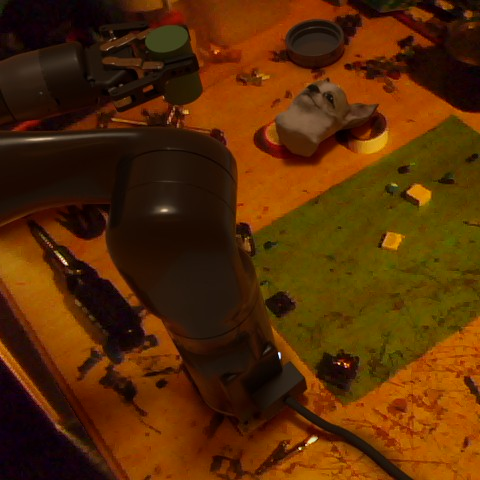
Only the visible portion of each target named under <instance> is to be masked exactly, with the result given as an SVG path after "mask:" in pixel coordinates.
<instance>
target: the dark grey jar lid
mask: <svg viewBox="0 0 480 480" xmlns="http://www.w3.org/2000/svg"><path fill="white" fill-rule="evenodd" d="M284 40H285V41H284V42H285V48H286V54H287V56H288V57H289V59H290V60H291V61H293V62H294V63H295V64H297V65H299V66H302V67H304V68H313V69H314V68H323V67H326V66H329V65H332V64H333V63H334V62H336V61H337V60H338V59H339V58H340V57H341V56H342V54H343V52H344V50H345V46H346V45H345V33H344V30H343V29H342V27H341V26H340V25H338V24H337V22H334V21H332V20H329V19H323V18H311V19H306V20H304V21H300V22H298V23H297V24H294V25H293V26H292V27H291V28H289V30H288V31H287V32H286V35H285V39H284Z"/></svg>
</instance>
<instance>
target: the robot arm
mask: <svg viewBox="0 0 480 480" xmlns="http://www.w3.org/2000/svg"><path fill="white" fill-rule="evenodd" d="M177 26H180V27H183V28H184V29H185V30H186V31H187V32H188V36H189V39H190V42H191V41H192V38H191V37H192V36H191V34H190V30H189V27H188V26H187V24H180V25H178V24H177ZM155 29H156V28H153V27H151V26H150V25H149V22H148V21H146V20H142V21H141V20H138V21H129V22H121V23H110V24H101V25H100V26H98V32H99V34H100V36H101V37H100V41H97V42H96V43H94V44H92V45H90V46H83V44H82V43H81V42H79V41H78V40H72V41H68V42H64V43H59V44H55V45H52V46H47V47H44V48H39V49H35V50H30V51H27V52H23V53H19V54H15V55H13V56H10V57H7V58H5V59H3V60H0V227H2V226H5V225H7V224H9V223H11V222H14V221H16V220H18V219H21V218H24V217H26V216H29V215H32V214H34V213H37V212H40V211H44V210H48V209H52V208H59V207H64V206H73V205H109V209H108V214H107V222H106V225H105V234H104V236H105V237H104V238H105V239H104V240H105V241H104V242H105V246H106V250H107V252H108V256H109V259H110V260H111V262H112V264H113V266H114V268H115V269H116V271H117V272H118V274H119V275H120V277H121V278H122V280H123V281H124V282H125V284H126V286H127V287H128V288H129V290H130V291H131V292H132V294H133V295H134V297H135V298H136V300H137V301H138V303H139V304H140V305H141V307H142V308H144V310H146V311H147V312H148V313H149V314H151V315H152V316H154V317H155V318H156V319H159V320H160V321H161V322H162V324H163V326H164V328H165V330H166V332H167V334H168V336H169V338H170V340H171V342H172V343H173V346H174V347H175V349H176V350H177V352H178V354H179V356H180V358H181V360H182V362H183V364H184V365H185V368H186V369H187V371H188V373H189V374H190V375H189V381H190V382H191V384H193V383H194V384H195V385H196V387H197V389H198V392H199V394H200V396H201V398H202V400H203V401H204V403H205V404H206V405H207V406H208V407H209V408H210V409H212V410H213V411H214V412H216V413H218V414H220V415H223V416H225V417H226V416H227V417H233V418H234V417H235V418H236V419H237V420H238V421H239V422H240V423H241V424H244V423H246V422H248V420H250V419H251V418H252V417H253V416H255V415H256V414H258V413H261V414H262V416H263V417H264V418H265V419H266V421H269V420H271V419H272V418H273V417H274V416H275V415H277V414H278V413H279V412H281V411H282V410H283V409H285V408H286V407H289V408H290V409H291V410H293V411H294V412H295V413H297V414H298V415H300V416H301V417H302V418H303V419H305V420H306V421H308V422H309V423H311V424H313V425H314V426H316V427H317V428H319V429H321V430H323V431H325V432H327V433H330V434H332V435H335V436H337V437H339V438H342V439H344V440H345V441H347V442H349V443H351V444H352V445H354V446H355V447H357V448H358V449H359V450H361V452H363V453H365V454H366V455H367V456H369V458H370V459H373V461H374V462H376V463H377V464H378V465H380V467H382V469H384V470H385V471H387V472H388V473H389V474H390V475H391V476H392V477H394V478H395V479H396V480H415V479H414V478H413V477H411V476H410V475H409V474H408V473H406V472H405V471H403V470H402V469H401V468H399V467H398V466H397V465H395V464H394V463H393V462H391V461H390V460H389V459H388V458H387V457H386V456H385V455H383V453H381V452H380V451H379V450H377V449H376V448H375V447H374V446H373V445H371V444H370V443H368V442H367V441H365V440H364V439H363V438H361V437H360V436H358V435H357V434H355V433H353V432H352V431H350V430H349V429H347V428H344V427H342V426H339V425H336V424H334V423H332V422H329V421H327V420H326V419H324V418H322V417H320V416H319V415H318V414H316V413H315V412H314V411H311V410H310V409H309V408H308V407H306V406H304V405H303V404H301V403H300V402H299V401H298V400H296V399H297V398H298V397H300V396H301V395H302V394H304V393H305V392H306V391H307V390H308V389H309V388H308V383H307V380H306V377H305V375H304V374H303V373H302V372H301V371H300V370H299V369H298V368H297V366H296V365H295V364H294V363H293V361H291V360H288V361H287V362H286V363H283V359H282V356H281V352H279V349H278V346H277V342H276V339H275V335H274V332H273V331H274V330H273V327H272V325H271V320H270V317H269V314H268V311H267V307H266V304H265V300H264V295H263V293H262V289H261V285H260V281H259V278H258V275H257V272H256V268H255V265H254V262H253V260H252V258H251V256H250V255H249V254H248V252H247V251H246V250H245V249H244V248H243V247H242V246H241V245H239V244H238V243H237V217H238V216H237V214H238V213H237V211H238V187H239V184H238V183H239V172H238V170H239V169H238V164H237V160H236V158H235V156H234V154H233V152H232V151H231V150H230V149H229V148H228V147H227V145H225V144H224V143H223V142H221V141H220V140H218V139H217V138H215V137H213V136H211V135H209V134H206V133H203V132H201V131H197V130H193V129H187V128H182V127H173V126H172V127H171V126H130V127H129V126H128V127H109V128H108V127H107V128H106V127H105V128H89V129H69V130H3V129H1V128H5V127H8V126H13V125H17V124H20V123H24V122H25V123H26V122H34V121H40V120H45V119H48V118H53V117H57V116H62V115H65V114H69V113H72V112H77V111H81V110H85V109H88V108H89V109H90V108H93V107H96V106H98V105H99V104H100V101H101V98H111V102H112V104H113V106H114V108H115V110H116V112H117V113H119V114H121V113H124V112H127V111H129V110H132V109H135V108H136V107H139V106H141V105H143V104H146V103H148V102H151V101H153V100H156V99H158V98H160V97H163V95H164V94H165V93H166V90H165V85H166V84H167V83H168V82H169V80H170V79H173V78H177V77H181V76H185V75H189V74H192V73H194V72H197V71H198V72H199V71H200V64H199V61H198V60H199V59H198V56H197V54H196V53H195V52H193V53H188V54H184V55H180V56H176V57H173V58H168V59H164V64H163V62H160V61H155V62H151V61H146V58H147V56H149V53H148V50H147V47H146V44H145V40H146V37H147V36H148V34H149V33H150V32H152V31H153V30H155ZM133 32H139V33H137V34H136V33H133ZM142 45H144V46H142ZM150 86H152V88H151V89H148V88H149V87H150ZM145 89H148V90H146V91H144V90H145Z"/></svg>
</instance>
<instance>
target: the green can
mask: <svg viewBox="0 0 480 480" xmlns="http://www.w3.org/2000/svg"><path fill="white" fill-rule="evenodd" d="M177 25H178V24H177ZM177 25H175V24H167V25H163V26H159V27H157V28H154V29H155V30H153V31H152V32H150V33H149V34H148V36H147V37H146V40H145V44H144V45H145V46H146V47H147V50H148V53H149V55H148V56H149V60H150V62H155V61H160V62H163V64H164V59H168V58H173V57H176V56H180V55H184V54H188V53H194V50H193V46H192V43H191V41H190V39H189V36H188V32H187V31H186V30H185V29H184V28H183V27H180V26H177ZM165 90H166V93H165V94H164V95H163V96H162V97H163V99H164V101H166V103H168V104H170V105H173V106H186V105H190V104H191V103H194V102H196V101H197V100H198V99H199V98H200V97H201V96H202V93H203V92H204V87H203V83H202V79H201V76H200V72H199V70H198V71H197V72H194V73H192V74H189V75H185V76H181V77H177V78H173V79H170V80H169V82H168V83H167V84H166V85H165Z"/></svg>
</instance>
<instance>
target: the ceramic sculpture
mask: <svg viewBox="0 0 480 480" xmlns="http://www.w3.org/2000/svg"><path fill="white" fill-rule="evenodd" d="M379 106H380V103H374V104H366V103H361V102H355V103H349V101H348V97H347V94H346V92H345V90H344V89H342V88H341V87H340V86H339V85H337V84H336V83H334V82H331V80H330V77H326V78H325V79H323V80H315V81H313V82H312V83H310V84H308V85H307V86H306V87H305V88H304V89H302V90H301V91H300V92H299V93H298V94H297V95H296V96H295V97H294V99H293V100H292V102H291V103H290V104H289V106H288V108H287V109H286V110H285V111H282V112H279V113H278V114H276V115H275V116H274V117H275V118H274V119H273V121H274V125H275V131H276V134H277V138H278V139H279V141H280V142H282V144H283V145H284V146H285V148H286V150H288V151H289V152H290V153H292V154H293V155H298V156H303V157H306V158H307V157H311V156H313V154H315V152H316V151H317V150H318V147H319V144H320V143H321V142H323V141H324V140H327V139H328V138H329V137H331V136H332V135H334V134H335V133H337V132H339V131H344V130H348V129H353V128H358V127H361V126H362V125H365V123H367V122H368V121H369V120H370V119H371V118H372V117H373V116H374V114H375V112H376V110H377V109H378V108H379Z"/></svg>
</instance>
